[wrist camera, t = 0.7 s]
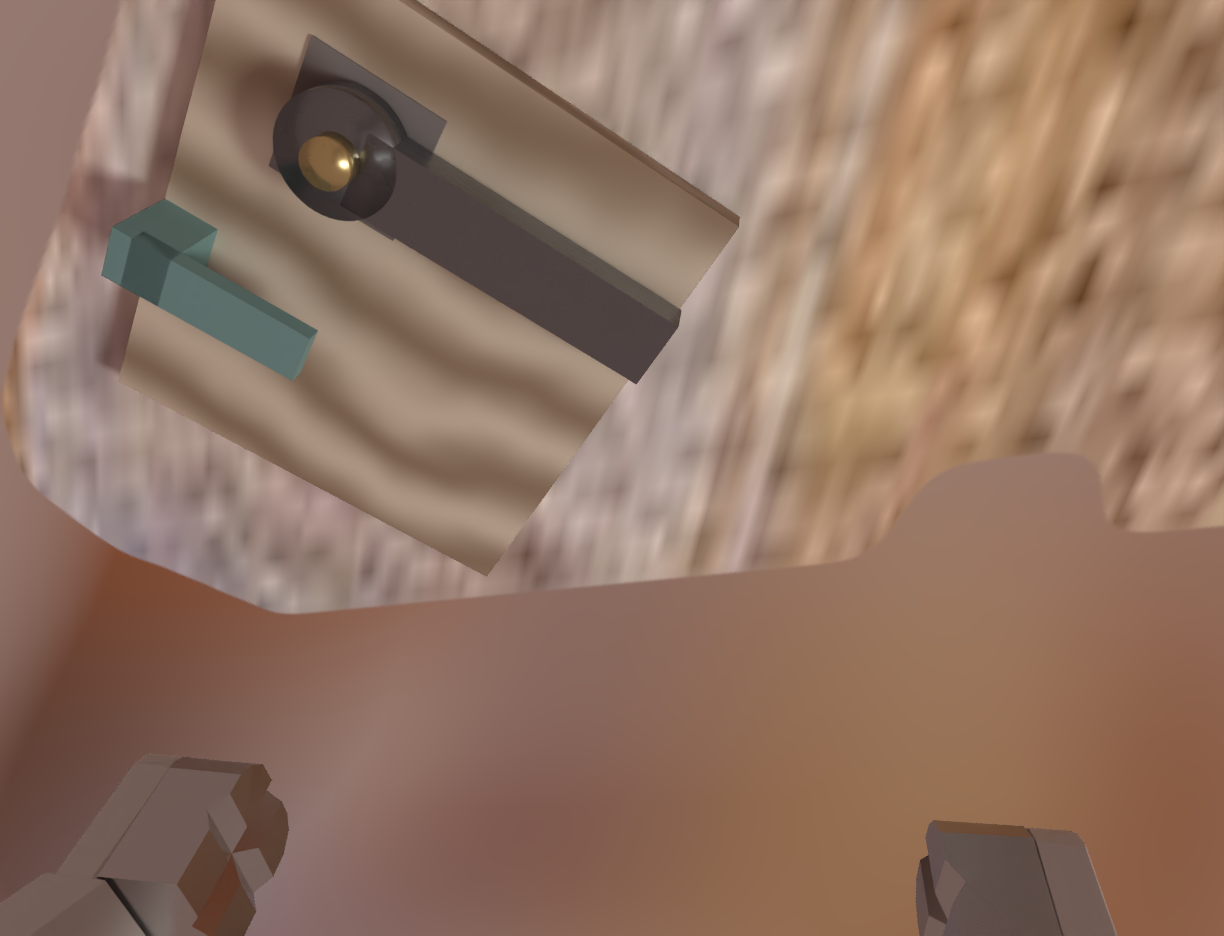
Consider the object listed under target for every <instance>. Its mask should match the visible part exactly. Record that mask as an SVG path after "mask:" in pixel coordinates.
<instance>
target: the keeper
mask: <svg viewBox="0 0 1224 936" xmlns="http://www.w3.org/2000/svg"><path fill="white" fill-rule="evenodd" d="M217 231H218V229H217V228H215V227H213V226H211V225H210V224H208V223H206V222H205V221H203V220H201V219H199V218H198V217H196V216H194V215H192V214H191V213H189V212H187V211H186V210H184V209H182V208H180V207H179V206H177V205H175V204H174V203H172V202H170V201H168V200H167V199H163V200H161V201H159V202H157V203H156V204H154V205H152V206H150V207H148V208H146V209H144V210H143V211H141V212H139V213H137V214H135V215H133V216H131V217H130V218H128V219H126V220H124V221H122V222H120V223H118V224H117V225H115V226H113V227H112V229H111V234H110V238H109V243H108V248H107V252H106V257H105V261H104V266H103V270H102V276H103V277H105V278H107V279H109V280H111V281H112V282H114V283H116V284H118V285H120V286H122V287H123V288H125V289H127V290H129V291H131V292H132V293H134V294H136V295H138V296H140V297H141V298H143V299H145V300H147V301H149V302H150V303H152V304H154V305H156V306H158V307H159V308H161V309H163V310H165V311H167V312H168V313H170V314H172V315H174V316H176V317H178V318H179V319H181V320H183V321H185V322H187V323H188V324H190V325H192V326H194V327H196V328H197V329H199V330H201V331H203V332H205V333H206V334H208V335H210V336H212V337H214V338H215V339H217V340H219V341H221V342H223V343H224V344H226V345H228V346H230V347H232V348H234V349H235V350H237V351H239V352H241V353H243V354H244V355H246V356H248V357H250V358H252V359H253V360H255V361H257V362H259V363H261V364H262V365H264V366H266V367H268V368H270V369H271V370H273V371H275V372H277V373H279V374H281V375H282V376H284V377H286V378H288V379H290V380H291V381H293V380H294V379H295V378H296V377H297V376H298V374H299V373H300V372H301V370H302V368H303V365H304V363H305V361H306V358H307V356H308V353H309V351H310V349H311V346H312V344H313V342H314V339H315V337H316V334H317V332H318V330H316V329H315V328H313V327H311V326H309V325H308V324H306V323H304V322H302V321H301V320H299V319H297V318H295V317H294V316H292V315H290V314H288V313H287V312H285V311H283V310H281V309H280V308H278V307H276V306H274V305H273V304H271V303H269V302H267V301H266V300H264V299H262V298H260V297H259V296H257V295H255V294H253V293H252V292H250V291H248V290H246V289H244V288H243V287H241V286H239V285H237V284H236V283H234V282H232V281H230V280H229V279H227V278H225V277H223V276H222V275H220V274H218V273H216V272H215V271H213V270H211V269H209V268H208V267H207V264H208V260H209V257H210V254H211V251H212V247H213V244H214V241H215V237H216V234H217Z"/></svg>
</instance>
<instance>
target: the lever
mask: <svg viewBox="0 0 1224 936" xmlns="http://www.w3.org/2000/svg"><path fill="white" fill-rule="evenodd" d="M273 151H274V156H275V160H276V163H277V166H278V169H279V171H280V173H281V175H282V177H283V179H284V181H285V182H286V184H287V185H288V187H289V188H290V189H291V191H292V192H293V193H294V194H295V195H296V196H297V197H298V198H299V199H300V201H302V202H303V203H304V204H305V205H306V206H308V207H309V208H311V209H312V210H314V211H315V212H317V213H319V214H321V215H323V216H326V217H328V218H331V219H335V220H340V221H357V220H362V219H363V220H365V221H367V222H368V223H370V224H372V225H373V226H375V227H377V228H378V229H380V230H382V231H383V232H385V233H387V234H388V235H390V236H392V237H393V238H395V239H397V240H398V241H400V242H401V243H403V244H405V245H406V246H408V247H410V248H411V249H413V250H415V251H416V252H418V253H420V254H421V255H423V256H425V257H426V258H428V259H430V260H431V261H433V262H435V263H436V264H438V265H440V266H441V267H443V268H444V269H446V270H448V271H449V272H451V273H453V274H454V275H456V276H458V277H459V278H461V279H463V280H464V281H466V282H468V283H469V284H471V285H473V286H474V287H476V288H478V289H479V290H481V291H483V292H484V293H486V294H487V295H489V296H491V297H492V298H494V299H496V300H497V301H499V302H501V303H502V304H504V305H506V306H507V307H509V308H511V309H512V310H514V311H516V312H517V313H519V314H521V315H522V316H524V317H526V318H527V319H529V320H531V321H532V322H534V323H535V324H537V325H539V326H540V327H542V328H544V329H545V330H547V331H549V332H550V333H552V334H554V335H555V336H557V337H559V338H560V339H562V340H564V341H565V342H567V343H569V344H570V345H572V346H574V347H575V348H577V349H578V350H580V351H582V352H583V353H585V354H587V355H588V356H590V357H592V358H593V359H595V360H597V361H598V362H600V363H602V364H603V365H605V366H607V367H608V368H610V369H612V370H613V371H615V372H617V373H618V374H620V375H621V376H623V377H625V378H626V379H628V380H630V381H631V382H633V383H635V384H637V383H638V381H639V380H640V379H641V377H642V376H643V375H644V373H645V372H646V371H647V369H648V368H649V366H650V365H651V364H652V362H653V361H654V360H655V358H656V357H657V355H658V354H659V353H660V351H661V350H662V349H663V347H664V346H665V345H666V343H667V342H668V340H669V339H670V338H671V336H672V335H673V334H674V332H675V331H676V330H677V328H678V327H679V321H680V316H681V309H679V308H677V307H676V306H674V305H673V304H671V303H669V302H668V301H666V300H665V299H663V298H662V297H660V296H658V295H657V294H655V293H654V292H652V291H650V290H649V289H647V288H646V287H644V286H643V285H641V284H639V283H638V282H636V281H635V280H633V279H632V278H630V277H628V276H627V275H625V274H624V273H622V272H620V271H619V270H617V269H616V268H614V267H613V266H611V265H609V264H608V263H606V262H605V261H603V260H601V259H600V258H598V257H597V256H595V255H594V254H592V253H590V252H589V251H587V250H586V249H584V248H583V247H581V246H579V245H578V244H576V243H575V242H573V241H571V240H570V239H568V238H567V237H565V236H564V235H562V234H560V233H559V232H557V231H556V230H554V229H552V228H551V227H549V226H548V225H546V224H545V223H543V222H541V221H540V220H538V219H537V218H535V217H534V216H532V215H530V214H529V213H527V212H526V211H524V210H522V209H521V208H519V207H518V206H516V205H515V204H513V203H511V202H510V201H508V200H507V199H505V198H503V197H502V196H500V195H499V194H497V193H496V192H494V191H492V190H491V189H489V188H488V187H486V186H484V185H483V184H481V183H480V182H478V181H477V180H475V179H473V178H472V177H470V176H469V175H467V174H466V173H464V172H462V171H461V170H459V169H458V168H456V167H454V166H453V165H451V164H450V163H448V162H447V161H445V160H443V159H442V158H440V157H439V156H437V155H435V154H434V153H432V152H431V151H429V150H428V149H426V148H424V147H423V146H421V145H420V144H418V143H417V142H415V141H413V140H412V139H410V138H409V137H408V136H407V133H406V131H405V128H404V126H403V124H402V122H401V120H400V119H399V117H398V116H397V114H396V113H395V111H394V110H393V109H392V108H391V106H390V105H389V104H388V103H387V102H386V101H385V100H384V99H383V98H381V97H380V96H379V95H378V94H376V93H375V92H373V91H372V90H370V89H368V88H366V87H364V86H362V85H359V84H357V83H353V82H349V81H341V80H340V81H329V82H324V83H322V84H319V85H317V86H315V87H312V88H310V89H308V90H306V91H304V92H302V93H300V94H298V95H296V96H294V97H293V98H291V99H290V100H289V101H288V102H287V103H286V104H285V105H284V106H283V107H282V109H281V111H280V112H279V114H278V116H277V119H276V121H275V125H274V129H273Z"/></svg>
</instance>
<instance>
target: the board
mask: <svg viewBox="0 0 1224 936" xmlns="http://www.w3.org/2000/svg"><path fill="white" fill-rule="evenodd" d="M340 80H341V81H349V82H353V83H357V84H359V85H362V86H364V87H366V88H368V89H370V90H372V91H373V92H375V93H376V94H378V95H379V96H380V97H381V98H383V99H384V100H385V101H386V102H387V103H388V104H389V105H390V106H391V108H392V109H393V110H394V111H395V113H396V114H397V116H398V117H399V119H400V120H401V122H402V124H403V126H404V128H405V131H406V133H407V136H408V137H409V138H410V139H412V140H413V141H415V142H417V143H418V144H420V145H421V146H423V147H424V148H426V149H428V150H429V151H431V152H432V153H434V154H435V155H437V156H439V157H440V158H442V159H443V160H445V161H447V162H448V163H450V164H451V165H453V166H454V167H456V168H458V169H459V170H461V171H462V172H464V173H466V174H467V175H469V176H470V177H472V178H473V179H475V180H477V181H478V182H480V183H481V184H483V185H484V186H486V187H488V188H489V189H491V190H492V191H494V192H496V193H497V194H499V195H500V196H502V197H503V198H505V199H507V200H508V201H510V202H511V203H513V204H515V205H516V206H518V207H519V208H521V209H522V210H524V211H526V212H527V213H529V214H530V215H532V216H534V217H535V218H537V219H538V220H540V221H541V222H543V223H545V224H546V225H548V226H549V227H551V228H552V229H554V230H556V231H557V232H559V233H560V234H562V235H564V236H565V237H567V238H568V239H570V240H571V241H573V242H575V243H576V244H578V245H579V246H581V247H583V248H584V249H586V250H587V251H589V252H590V253H592V254H594V255H595V256H597V257H598V258H600V259H601V260H603V261H605V262H606V263H608V264H609V265H611V266H613V267H614V268H616V269H617V270H619V271H620V272H622V273H624V274H625V275H627V276H628V277H630V278H632V279H633V280H635V281H636V282H638V283H639V284H641V285H643V286H644V287H646V288H647V289H649V290H650V291H652V292H654V293H655V294H657V295H658V296H660V297H662V298H663V299H665V300H666V301H668V302H669V303H671V304H673V305H674V306H676V307H677V308H679V309H680V308H681V307H682V305H683V304H684V302H685V301H686V300H687V298H688V297H689V296H690V294H691V293H692V291H693V290H694V289H695V287H696V286H697V284H698V283H699V282H700V280H701V279H702V278H703V276H704V275H705V273H706V272H707V271H708V269H709V268H710V266H711V265H712V264H713V262H714V261H715V259H716V258H717V257H718V255H719V254H720V253H721V251H722V250H723V248H724V247H725V246H726V244H727V243H728V241H729V240H730V239H731V237H732V236H733V235H734V233H735V232H736V230H737V229H738V228H739V219H740V217H739V216H738V215H736V214H735V213H733V212H732V211H730V210H729V209H727V208H726V207H724V206H723V205H721V204H720V203H718V202H717V201H715V200H714V199H712V198H711V197H709V196H708V195H706V194H705V193H703V192H702V191H700V190H699V189H697V188H696V187H694V186H693V185H691V184H690V183H688V182H687V181H685V180H684V179H682V178H681V177H679V176H678V175H676V174H675V173H673V172H672V171H670V170H669V169H667V168H666V167H664V166H663V165H661V164H660V163H658V162H657V161H655V160H654V159H652V158H651V157H649V156H648V155H646V154H645V153H643V152H642V151H640V150H639V149H637V148H636V147H634V146H633V145H631V144H630V143H628V142H627V141H625V140H624V139H622V138H621V137H619V136H618V135H616V134H615V133H613V132H612V131H610V130H609V129H607V128H606V127H604V126H603V125H601V124H600V123H598V122H597V121H596V120H594V119H593V118H591V117H590V116H588V115H587V114H585V113H584V112H582V111H581V110H579V109H578V108H576V107H575V106H573V105H572V104H570V103H569V102H567V101H566V100H564V99H563V98H561V97H560V96H558V95H557V94H555V93H554V92H552V91H551V90H549V89H548V88H546V87H545V86H543V85H542V84H540V83H539V82H537V81H536V80H534V79H533V78H531V77H530V76H528V75H527V74H525V73H524V72H522V71H521V70H519V69H518V68H516V67H515V66H513V65H512V64H510V63H509V62H507V61H506V60H504V59H503V58H501V57H500V56H498V55H497V54H495V53H494V52H492V51H491V50H489V49H488V48H486V47H485V46H483V45H482V44H480V43H479V42H477V41H476V40H474V39H473V38H471V37H470V36H468V35H467V34H465V33H464V32H462V31H461V30H459V29H458V28H456V27H455V26H454V25H452V24H451V23H449V22H448V21H446V20H445V19H443V18H442V17H440V16H439V15H437V14H436V13H434V12H433V11H431V10H430V9H428V8H427V7H425V6H424V5H422V4H421V3H419V2H418V1H416V0H216V1H215V5H214V9H213V13H212V17H211V21H210V25H209V29H208V33H207V37H206V40H205V44H204V48H203V52H202V56H201V60H200V64H199V68H198V72H197V75H196V79H195V83H194V87H193V91H192V95H191V99H190V103H189V107H188V110H187V114H186V118H185V122H184V126H183V130H182V134H181V138H180V142H179V146H178V149H177V153H176V157H175V161H174V165H173V169H172V173H171V177H170V181H169V184H168V188H167V192H166V196H165V199H167V200H168V201H170V202H172V203H174V204H175V205H177V206H179V207H180V208H182V209H184V210H186V211H187V212H189V213H191V214H192V215H194V216H196V217H198V218H199V219H201V220H203V221H205V222H206V223H208V224H210V225H211V226H213V227H215V228H217V229H218V231H217V234H216V237H215V241H214V244H213V247H212V251H211V254H210V257H209V260H208V264H207V267H208V268H209V269H211V270H213V271H215V272H216V273H218V274H220V275H222V276H223V277H225V278H227V279H229V280H230V281H232V282H234V283H236V284H237V285H239V286H241V287H243V288H244V289H246V290H248V291H250V292H252V293H253V294H255V295H257V296H259V297H260V298H262V299H264V300H266V301H267V302H269V303H271V304H273V305H274V306H276V307H278V308H280V309H281V310H283V311H285V312H287V313H288V314H290V315H292V316H294V317H295V318H297V319H299V320H301V321H302V322H304V323H306V324H308V325H309V326H311V327H313V328H315V329H316V330H318V332H317V334H316V337H315V339H314V342H313V344H312V346H311V349H310V351H309V353H308V356H307V358H306V361H305V363H304V365H303V368H302V370H301V372H300V373H299V374H298V376H297V377H296V378H295V379H294V380H293V381H291V380H290V379H288V378H286V377H284V376H282V375H281V374H279V373H277V372H275V371H273V370H271V369H270V368H268V367H266V366H264V365H262V364H261V363H259V362H257V361H255V360H253V359H252V358H250V357H248V356H246V355H244V354H243V353H241V352H239V351H237V350H235V349H234V348H232V347H230V346H228V345H226V344H224V343H223V342H221V341H219V340H217V339H215V338H214V337H212V336H210V335H208V334H206V333H205V332H203V331H201V330H199V329H197V328H196V327H194V326H192V325H190V324H188V323H187V322H185V321H183V320H181V319H179V318H178V317H176V316H174V315H172V314H170V313H168V312H167V311H165V310H163V309H161V308H159V307H158V306H156V305H154V304H152V303H150V302H149V301H147V300H145V299H143V298H141V297H139V301H138V305H137V309H136V313H135V317H134V321H133V325H132V328H131V332H130V336H129V340H128V344H127V348H126V352H125V356H124V360H123V364H122V367H121V371H120V375H119V379H118V381H119V382H121V383H123V384H125V385H126V386H128V387H130V388H132V389H134V390H136V391H138V392H140V393H142V394H143V395H145V396H147V397H149V398H151V399H153V400H155V401H157V402H159V403H160V404H162V405H164V406H166V407H168V408H170V409H172V410H174V411H175V412H177V413H179V414H181V415H183V416H185V417H187V418H189V419H191V420H192V421H194V422H196V423H198V424H200V425H202V426H204V427H206V428H208V429H209V430H211V431H213V432H215V433H217V434H219V435H221V436H223V437H225V438H226V439H228V440H230V441H232V442H234V443H236V444H238V445H240V446H241V447H243V448H245V449H247V450H249V451H251V452H253V453H255V454H257V455H258V456H260V457H262V458H264V459H266V460H268V461H270V462H272V463H274V464H275V465H277V466H279V467H281V468H283V469H285V470H287V471H289V472H290V473H292V474H294V475H296V476H298V477H300V478H302V479H304V480H306V481H307V482H309V483H311V484H313V485H315V486H317V487H319V488H321V489H323V490H324V491H326V492H328V493H330V494H332V495H334V496H336V497H338V498H340V499H341V500H343V501H345V502H347V503H349V504H351V505H353V506H355V507H356V508H358V509H360V510H362V511H364V512H366V513H368V514H370V515H372V516H373V517H375V518H377V519H379V520H381V521H383V522H385V523H387V524H389V525H390V526H392V527H394V528H396V529H398V530H400V531H402V532H404V533H405V534H407V535H409V536H411V537H413V538H415V539H417V540H419V541H421V542H422V543H424V544H426V545H428V546H430V547H432V548H434V549H436V550H438V551H439V552H441V553H443V554H445V555H447V556H449V557H451V558H453V559H455V560H456V561H458V562H460V563H462V564H464V565H466V566H468V567H470V568H471V569H473V570H475V571H477V572H479V573H481V574H483V575H485V576H487V575H488V574H489V573H490V571H491V570H492V568H493V567H494V566H495V564H496V563H497V561H498V560H499V559H500V557H501V556H502V555H503V553H504V552H505V550H506V549H507V548H508V546H509V545H510V543H511V542H512V541H513V539H514V538H515V537H516V535H517V534H518V532H519V531H520V530H521V528H522V527H523V525H524V524H525V523H526V521H527V520H528V519H529V517H530V516H531V514H532V513H533V512H534V510H535V509H536V507H537V506H538V505H539V503H540V502H541V500H542V499H543V498H544V496H545V495H546V494H547V492H548V491H549V489H550V488H551V487H552V485H553V484H554V482H555V481H556V480H557V478H558V477H559V476H560V474H561V473H562V471H563V470H564V469H565V467H566V466H567V464H568V463H569V462H570V460H571V459H572V458H573V456H574V455H575V453H576V452H577V451H578V449H579V448H580V446H581V445H582V444H583V442H584V441H585V440H586V438H587V437H588V435H589V434H590V433H591V431H592V430H593V428H594V427H595V426H596V424H597V423H598V422H599V420H600V419H601V417H602V416H603V415H604V413H605V412H606V410H607V409H608V408H609V406H610V405H611V404H612V402H613V401H614V399H615V398H616V397H617V395H618V394H619V392H620V391H621V390H622V388H623V387H624V386H625V384H626V383H627V381H628V379H626V378H625V377H623V376H621V375H620V374H618V373H617V372H615V371H613V370H612V369H610V368H608V367H607V366H605V365H603V364H602V363H600V362H598V361H597V360H595V359H593V358H592V357H590V356H588V355H587V354H585V353H583V352H582V351H580V350H578V349H577V348H575V347H574V346H572V345H570V344H569V343H567V342H565V341H564V340H562V339H560V338H559V337H557V336H555V335H554V334H552V333H550V332H549V331H547V330H545V329H544V328H542V327H540V326H539V325H537V324H535V323H534V322H532V321H531V320H529V319H527V318H526V317H524V316H522V315H521V314H519V313H517V312H516V311H514V310H512V309H511V308H509V307H507V306H506V305H504V304H502V303H501V302H499V301H497V300H496V299H494V298H492V297H491V296H489V295H487V294H486V293H484V292H483V291H481V290H479V289H478V288H476V287H474V286H473V285H471V284H469V283H468V282H466V281H464V280H463V279H461V278H459V277H458V276H456V275H454V274H453V273H451V272H449V271H448V270H446V269H444V268H443V267H441V266H440V265H438V264H436V263H435V262H433V261H431V260H430V259H428V258H426V257H425V256H423V255H421V254H420V253H418V252H416V251H415V250H413V249H411V248H410V247H408V246H406V245H405V244H403V243H401V242H400V241H398V240H397V239H395V238H393V237H392V236H390V235H388V234H387V233H385V232H383V231H382V230H380V229H378V228H377V227H375V226H373V225H372V224H370V223H368V222H367V221H365V220H363V219H362V220H357V221H340V220H335V219H331V218H328V217H326V216H323V215H321V214H319V213H317V212H315V211H314V210H312V209H311V208H309V207H308V206H306V205H305V204H304V203H303V202H302V201H300V199H299V198H298V197H297V196H296V195H295V194H294V193H293V192H292V191H291V189H290V188H289V187H288V185H287V184H286V182H285V181H284V179H283V177H282V175H281V173H280V171H279V169H278V166H277V163H276V160H275V156H274V151H273V129H274V125H275V121H276V119H277V116H278V114H279V112H280V111H281V109H282V107H283V106H284V105H285V104H286V103H287V102H288V101H289V100H290V99H291V98H293V97H294V96H296V95H298V94H300V93H302V92H304V91H306V90H308V89H310V88H312V87H315V86H317V85H319V84H322V83H324V82H329V81H340Z"/></svg>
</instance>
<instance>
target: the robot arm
mask: <svg viewBox="0 0 1224 936" xmlns="http://www.w3.org/2000/svg"><path fill="white" fill-rule="evenodd" d="M271 781H272V779H271V778H270V776H269V774H268V772H267V770H266V769H265V767H264V765H263V764H254V763H242V762H232V761H221V760H209V759H198V758H190V757H184V756H171V755H159V754H147V755H146V756H144V757H143V758H141V759H140V760H139V761H137V762H136V763H135V764H134V765H133V766H132V767H131V768H130V770H129V771H128V773H127V774H126V775H125V777H124V778H123V780H122V781H121V782H120V784H119V785H118V787H117V788H116V789H115V791H114V792H113V794H112V795H111V796H110V798H109V799H108V801H107V802H106V803H105V805H104V806H103V808H102V809H101V810H100V812H99V813H98V815H97V816H96V817H95V819H94V820H93V822H92V823H91V824H90V826H89V827H88V829H87V830H86V832H85V833H84V834H83V836H82V837H81V838H80V840H79V841H78V843H77V844H76V845H75V847H74V848H73V850H72V851H71V852H70V854H69V855H68V857H67V858H66V859H65V861H64V862H63V864H62V865H61V866H60V868H59V869H58V871H57V872H56V873H55V874H53V873H44V874H42V875H41V876H39V877H38V878H36V879H35V880H34V881H32V882H31V883H29V884H28V885H26V886H25V887H24V888H22V889H20V890H19V891H18V892H16V893H15V894H13V895H12V896H10V897H9V898H7V899H6V900H4V901H3V902H1V903H0V936H244V935H245V933H246V931H247V929H248V927H249V925H250V923H251V921H252V919H253V917H254V915H255V913H256V907H255V901H254V894H253V893H254V892H255V891H256V890H257V889H259V888H260V887H261V886H262V885H264V884H265V883H266V882H267V881H268V880H270V879H271V878H272V877H273V876H274V874H275V871H276V869H277V867H278V865H279V863H280V861H281V859H282V857H283V854H284V850H285V846H286V840H287V836H288V831H289V827H288V816H287V812H286V810H285V807H284V805H283V803H282V801H280V800H279V799H278V798H276V797H275V796H274V795H272V794H271V793H270V792H268V791H267V788H268V787H269V785H270V783H271ZM926 843H927V849H928V856H926V857H924V858H923V859H921V860H920V863H919V868H918V873H917V878H916V909H917V919H918V928H919V935H920V936H1117V933H1116V931H1115V928H1114V925H1113V922H1112V920H1111V916H1110V913H1109V910H1108V908H1107V905H1106V902H1105V899H1104V896H1103V894H1102V890H1101V888H1100V885H1099V882H1098V879H1097V876H1096V874H1095V871H1094V868H1093V865H1092V862H1091V859H1090V856H1089V853H1088V850H1087V848H1086V845H1085V843H1084V842H1083V840H1082V839H1081V838H1080V837H1079V835H1078V834H1077V833H1075V832H1072V831H1065V830H1052V829H1038V828H1025V827H1024V826H1013V825H998V824H982V823H968V822H952V821H938V820H933V821H932V822H931V823H930V824H929V827H928V830H927V834H926Z"/></svg>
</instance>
